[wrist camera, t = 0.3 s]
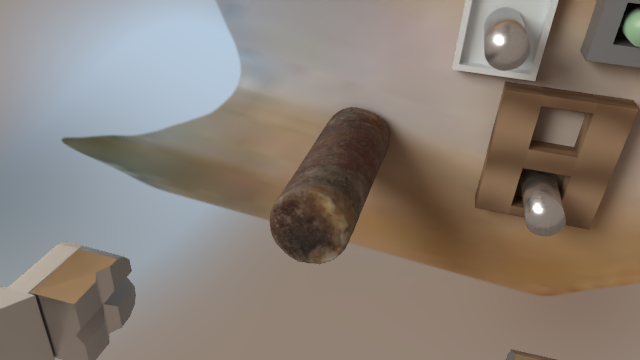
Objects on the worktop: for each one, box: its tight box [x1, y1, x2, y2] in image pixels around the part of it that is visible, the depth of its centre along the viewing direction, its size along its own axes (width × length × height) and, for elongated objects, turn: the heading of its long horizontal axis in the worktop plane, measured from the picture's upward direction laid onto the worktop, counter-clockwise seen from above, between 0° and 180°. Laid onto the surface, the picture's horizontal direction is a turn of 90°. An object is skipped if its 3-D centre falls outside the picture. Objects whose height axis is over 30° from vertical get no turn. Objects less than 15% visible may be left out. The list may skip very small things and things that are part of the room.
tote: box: [452, 0, 559, 81], centre depth 49 cm, size 9×8×2 cm
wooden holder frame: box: [475, 82, 639, 229], centre depth 54 cm, size 14×12×2 cm
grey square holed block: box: [581, 0, 640, 68], centre depth 45 cm, size 7×7×3 cm
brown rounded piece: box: [270, 107, 389, 264], centre depth 51 cm, size 8×7×20 cm
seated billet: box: [521, 169, 566, 236], centre depth 53 cm, size 4×4×8 cm
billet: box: [484, 7, 530, 71], centre depth 46 cm, size 4×4×8 cm
